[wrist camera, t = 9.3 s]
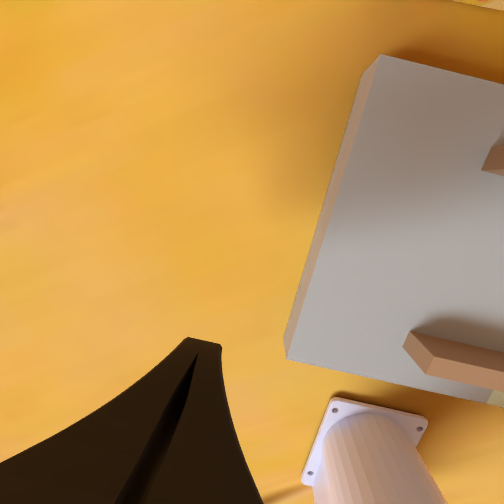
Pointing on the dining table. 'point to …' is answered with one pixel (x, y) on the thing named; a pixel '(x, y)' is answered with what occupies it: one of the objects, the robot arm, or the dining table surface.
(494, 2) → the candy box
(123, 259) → the dining table surface
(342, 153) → the tunnel deck
